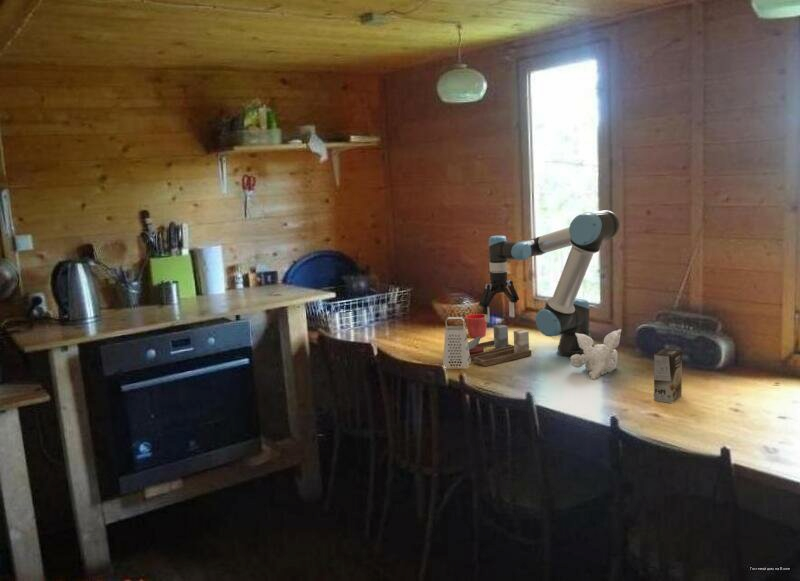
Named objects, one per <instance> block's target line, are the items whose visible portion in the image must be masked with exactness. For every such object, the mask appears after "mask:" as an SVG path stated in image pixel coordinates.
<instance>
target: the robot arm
mask: <svg viewBox="0 0 800 581" xmlns="http://www.w3.org/2000/svg"><path fill="white" fill-rule="evenodd" d="M620 229H621V221H620V219H619V217H618V215H617V214H615V213H614V212H612V211H611V210H604V209H603V210H598V211H590V212H587V211H586V212H583V213H581V214H578V215H576V216H575V217H574V218H573V219H572V220H571V222H570V224H569V227H566V228H563V229H559V230H556V231H553V232H550V233H547V234H544V235H540V236H537V237H533V238H530V239H523V240H518V241H509V240H507V237H506V235H492V236H490V237H489V239H488V255H489V258H488V259H489V271H490V272H489V281H490V283H485V284H484V288H483V290H482V291H483V292H482V294H481V297H480V301H479V303H478V306H479V307H482V312H483V313H482V314H485V321H486V322H487V323H490V322H491V321H490V320H491V318H490V317H491V316H490V310H491V309H490V306H489V305H490V303H491V302H492V300H493V298H494V296H495V295H497V294H499V293H503V294H504V295H505V297H507V298H508V300H509V302H508V311H509V312H508V314H509V317H510V318H515V316H516V315H515V310H516V303H517V302H518V301H519V300H520V297H519V294H518V293H517V290H516V288H515V286H514V282H513V280H509V279H508V272H507V271H508V260H515V261H526V260H529V258H530V257H531V258H532V257H536V256H542V255H545V254H547V253H550V252H553V251H557V250H560V249H565V248H567V247H570V248H571V249H570V250H569V253H568V256H567V259H566V261H565V264H564V266H563V269H562V271H561V274H560V276H559V280H558V282H557V285H556V287H555V290H554V293H553V295H552V296H551V297H548V298H547V300H546V303H545V306H544V308H542V309H540V310H539V311H537V313H536V314H535V324H536V326H537V329H538V331H539V332H540V333H541V334H542V335H544V336H545V337H550V338H551V337H558V336H560V335H561V336H560V339H559V343H558V345H557V354H558V355H561V356H565V357H570V358H571V356H572V355H575V354H580V355H582V354H585V353H584V352H583V351H584V350H583V349H582V348H580V347H579V343H578V341H577V337H576V335H575V333H578V334H584V335H587V336H589V337H591V334H590V332H591V331H590V311H591V310H590V302H589V300H586V299H583V298H577V296H578V293H579V290H580V288H581V286H582V283H583V280H584V278H585V276H586V273H587V270H588V268H589V265H590V263H591V260H592V259H593V256H594V254H595V253H598V252H599V251H600V249H601V247H602V244H603V242H604V241H608V240H610V239H613V238H614V237H616V236H617V235H618V233H619V231H620ZM594 346H595V345H594V344H593V345H592V347H593V348H594Z"/></svg>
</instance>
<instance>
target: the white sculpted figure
mask: <svg viewBox="0 0 800 581" xmlns="http://www.w3.org/2000/svg"><path fill="white" fill-rule="evenodd" d="M621 333H622V328H619V329H617V330H613V331H611V332H610V333H608V334H606V336H604V338H603V343H602V344H595V345H594V342H595V341H594V339H592V337H591V336H590V337H589V336H587V335H584V334H578V333H575V335H576V337H577V341H578V343H579V347H580V348H582V349H583V350H584V351H583V352H584V353H585V354H582V355H580V354H575V355H572V356H571V357H570V358H569V359H570V365H571V366H572V367H574V368H577V369H578V368H582V367H583V365H584V368H585V369H586V370H587V371H588V372H589V371H591V372H589V373H588V375H589V376H590V379H591V380H596V379H598V378H600V375H602V376H604V374H608V373H612V371H614V370H616V369H617V368H616V367H617V364H618V358H619V355H618V353H619V352H618V351H617V350H616V348H618V346H619V345H620V340H621ZM592 345H593V346H594V348H593V347H592ZM607 372H608V373H607Z"/></svg>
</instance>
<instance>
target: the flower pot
mask: <svg viewBox="0 0 800 581" xmlns="http://www.w3.org/2000/svg"><path fill="white" fill-rule="evenodd" d="M464 321H465V323H466V324H465V326H466V330H467V333H468V336H469V338H472V337H473V338H474V339H475V338H477V337H479V336H481V338H484V337H486V334H487V327H488V326H487V325H488V322H486V321H485V314H483V313H475V314H472V313H471V314H468V315H465V316H464Z"/></svg>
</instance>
